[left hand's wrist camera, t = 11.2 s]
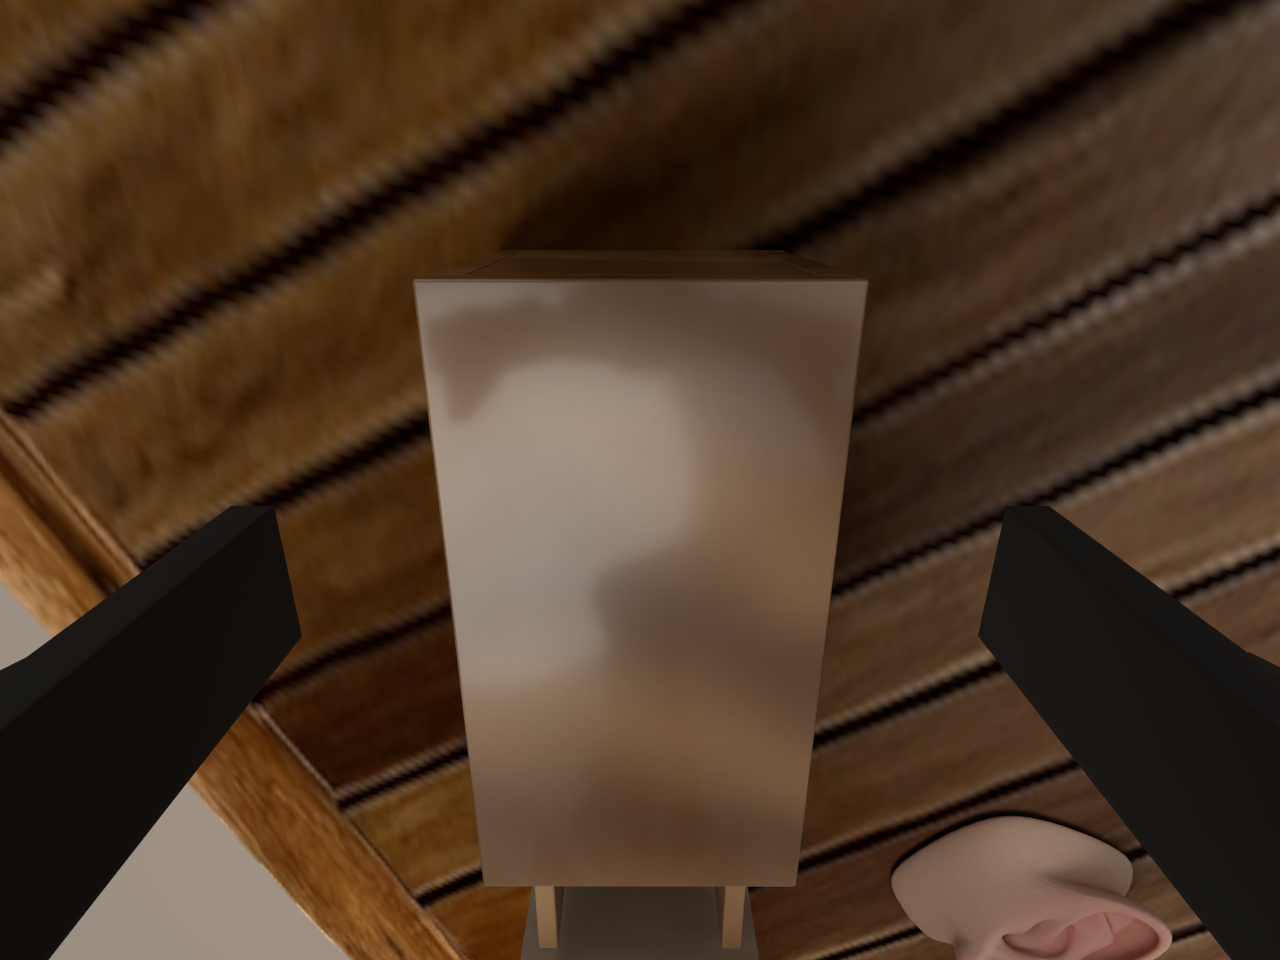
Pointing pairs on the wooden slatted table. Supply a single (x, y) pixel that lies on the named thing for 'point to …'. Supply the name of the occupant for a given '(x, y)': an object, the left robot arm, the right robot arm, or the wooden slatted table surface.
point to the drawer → (639, 923)
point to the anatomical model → (1027, 895)
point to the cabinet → (640, 550)
